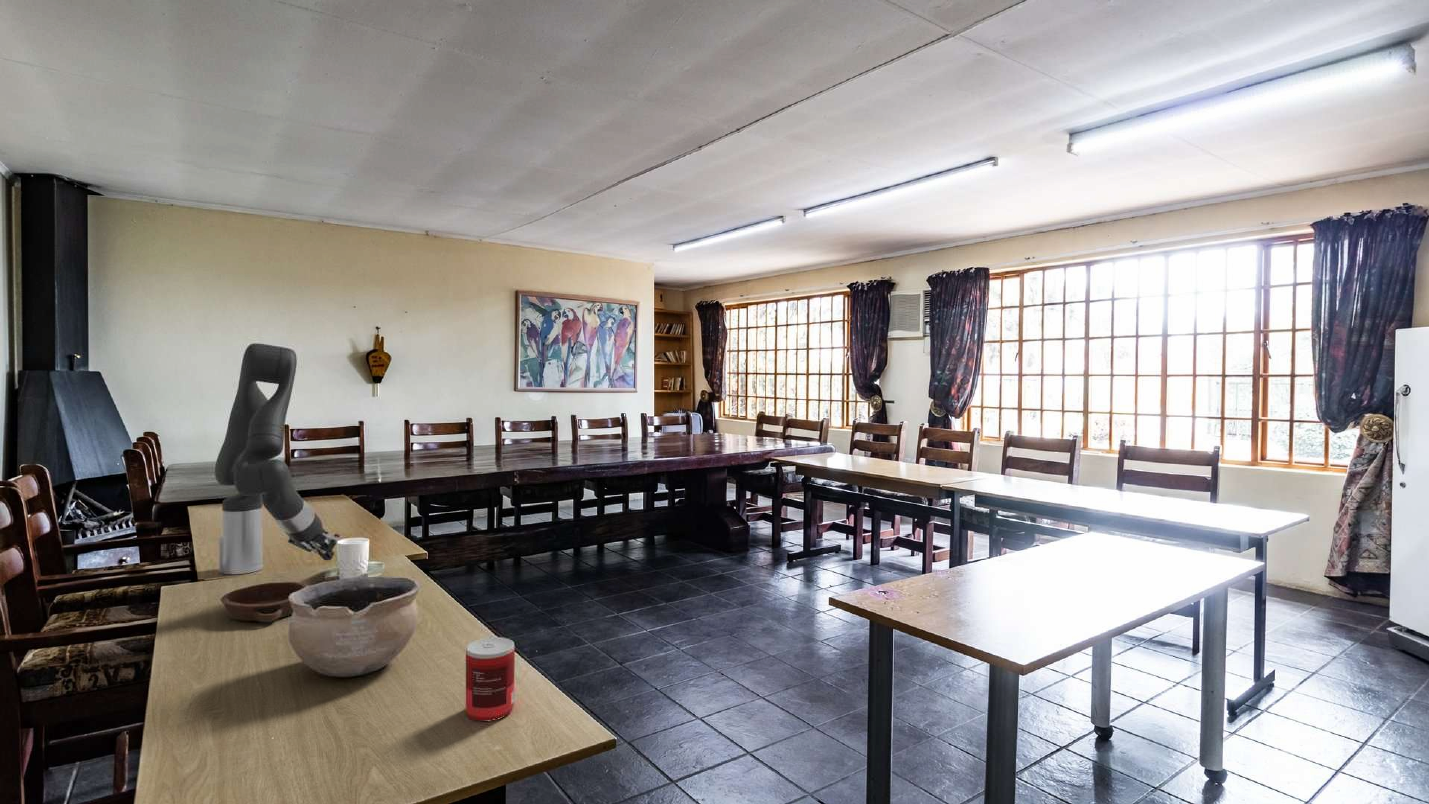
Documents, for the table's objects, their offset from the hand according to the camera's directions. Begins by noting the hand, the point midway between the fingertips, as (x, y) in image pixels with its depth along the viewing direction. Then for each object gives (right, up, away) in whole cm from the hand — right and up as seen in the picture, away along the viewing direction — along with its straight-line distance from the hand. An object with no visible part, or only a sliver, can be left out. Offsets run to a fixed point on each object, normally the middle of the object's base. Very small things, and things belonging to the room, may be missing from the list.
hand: (329, 557), depth 182 cm
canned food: (+62, -11, -66) cm, 91 cm away
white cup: (+1, -8, +10) cm, 13 cm away
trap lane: (0, -8, +3) cm, 8 cm away
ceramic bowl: (+32, -10, -49) cm, 59 cm away
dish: (-4, -9, -19) cm, 22 cm away
